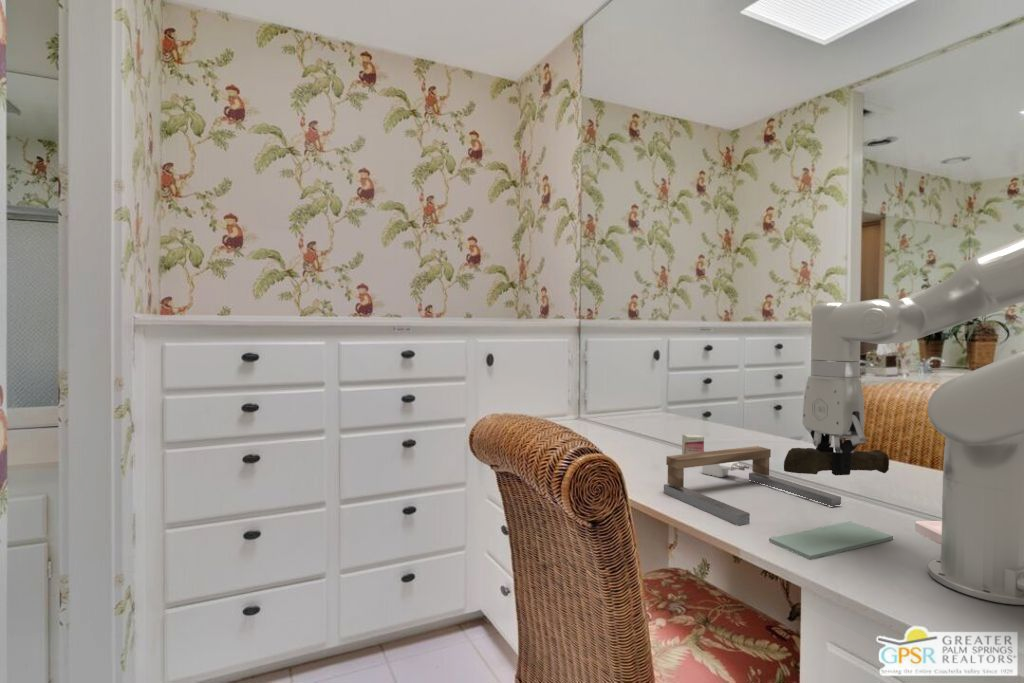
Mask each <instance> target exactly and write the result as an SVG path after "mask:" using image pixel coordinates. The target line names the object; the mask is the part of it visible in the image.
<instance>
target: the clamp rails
mask: <svg viewBox="0 0 1024 683" xmlns="http://www.w3.org/2000/svg"><path fill="white" fill-rule="evenodd" d="M749 480H751V481H755V482H758V483H761V484H765V485H768V486H771V487H775V488H778V489H782V490H785V491H788V492H791V493H794V494H797V495H800V496H803V497H806V498H808V499H812V500H815V501H818V502H821V503H824V504H827V505H830V506H835V505H840V504H841V505H842V496H841V495H840V496H839V495H837V494H833V493H829V492H827V491H822V490H820V489H816V488H813V487H810V486H807V485H803V484H800V483H797V482H793V481H789V480H786V479H783V478H780V477H776V476H773V475H770V474H769V475H766V476H765V475H762V474H759V473H755V472H749V473H748V481H749ZM751 481H750V482H751ZM761 484H760V485H761ZM663 494H665V495H667V496H669V497H671V498H674V499H676V500H678V501H681V502H683V503H686V504H688V505H690V506H693V507H695V508H697V509H700V510H702V511H704V512H706V513H708V514H710V515H713V516H716V517H718V518H720V519H723V520H725V521H727V522H730V523H731V524H734V525H736V526H742V525H749V524H750V518H751V516H750V515H751V514H750V513H749V512H747V511H745V510H742V509H740V508H737V507H735V506H732V505H730V504H727V503H725V502H723V501H720V500H717V499H715V498H712V497H710V496H708V495H705V494H702V493H700V492H698V491H694V490H692V489H691V488H687V487H685V486H684V487H683V488H678V487H676V486H673V485H671V484H668V483H665V484H663Z"/></svg>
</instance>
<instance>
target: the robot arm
mask: <svg viewBox="0 0 1024 683" xmlns="http://www.w3.org/2000/svg"><path fill="white" fill-rule="evenodd" d="M1022 302H1024V236H1021V237H1019V238H1017V239H1014V240H1012V241H1009V242H1007V243H1005V244H1002V245H1000V246H998V247H997V246H996V247H995V248H993V249H992V248H991V249H990V250H988V251H985V252H982V253H981V254H978V255H975V256H973V257H972V258H970V259H968V260H967V261H966V262H964V263H963V264H962V265H961V267H960V268H958V270H957V271H956V272H955V273H954V274H952V275H951V276H949V277H948V278H946V279H945V280H943V281H940V282H939V283H937V284H935V285H932V286H930V287H928V288H926V289H923V290H920V291H918V292H916V293H913V294H911V295H907V296H906V297H903V298H900V299H890V298H875V299H869V300H866V299H865V300H861V301H854V302H853V301H852V302H851V301H826V302H819V303H816V304H815V305H814V306H813V307H812V311H811V312H812V313H811V333H810V334H811V336H810V337H811V340H810V341H811V348H810V376H808V377H807V381H806V384H805V385H806V386H805V390H804V394H803V395H804V396H803V406H802V425H803V427H804V429H806V431H808V433H809V434H810V436H811V438H812V439H813V442H812V443H813V446H814V447H815V449H817V450H819V452H832V470H831V474H832V475H833V476H850V475H851V470H850V465H851V453H853V452H854V451H855V449H856V448H857V447H858V446H860V445H863V444H864V443H866V442H867V439H866V435H865V433H864V431H865V418H866V417H865V415H866V414H865V401H864V400H865V398H864V391H863V385H862V381H861V380H860V372H861V371H860V368H861V367H860V366H861V364H860V363H861V342H862V343H869V344H876V345H887V344H903V343H904V344H905V343H908V342H913V341H916V340H918V339H921V338H924V337H927V336H929V335H933V334H935V333H940V332H942V331H944V330H947V329H950V328H951V329H952V328H953V327H956V326H959V325H961V324H964V323H966V322H969V321H972V320H974V319H977V318H980V317H983V316H987V315H990V314H994V313H996V312H998V311H999V310H1003V309H1006V308H1009V307H1011V306H1014V305H1017V304H1020V303H1022ZM927 416H928V419H929V421H930V423H931V425H932V427H933V428H934V429H935V430H936V431H937V432H938V433H939V434H940V435H942V436H943V437H945V441H944V451H943V463H942V464H943V469H942V470H943V472H942V494H941V495H942V496H941V498H942V499H941V500H942V501H941V502H942V503H941V521H942V537H941V544H940V545H941V546H940V548H941V550H940V559H934V560H930V562H928V565H927V572H928V574H929V576H930V577H931V578H933V579H934V580H935V581H937V583H940V584H941V585H943V586H945V587H947V588H949V589H952V590H953V591H955V592H956V591H957V592H959V593H962V594H964V595H967V596H971V597H973V598H977V599H980V600H985V601H989V602H994V603H998V604H1007V605H1015V606H1016V605H1017V606H1024V349H1022V350H1020V351H1018V352H1015V353H1013V354H1010V355H1008V356H1005V357H1004V358H1001V359H998V360H995V361H993V362H991V363H988V364H986V365H984V366H982V367H979V368H977V369H974V370H971V371H969V372H967V373H964V374H962V375H959V376H957V377H955V378H952V379H950V380H947V381H946V382H944V383H942V384H940V385H939V386H938V387H937V388H936V389H935V390H934V391H933V393H932V394H931V396H930V398H929V399H928V403H927ZM843 439H845V440H844V441H843ZM832 440H834V447H833V446H832Z"/></svg>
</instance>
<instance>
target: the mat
mask: <svg viewBox="0 0 1024 683" xmlns="http://www.w3.org/2000/svg"><path fill="white" fill-rule="evenodd" d="M891 540H894V535H891V534H889V533H886V532H883V531H879V530H876V529H874V528H870V527H868V526H864V525H862V524H858V523H856V522H853V521H845V522H841V523H835V524H832V525H831V524H830V525H826V526H821V527H817V528H812V529H811V528H810V529H807V530H802V531H798V532H792V533H787V534H782V535H778V536H773V537H769V538H768V541H770V543H771V542H772V544H774V545H776V546H778V547H781V548H783V549H785V548H786V550H787V549H788V551H789V552H792V551H793V552H792V553H794V552H795V553H794V554H796V553H798V554H797V555H799V554H800V555H799V556H801V555H802V556H801V557H803V556H805V557H804V558H806V557H807V558H806V559H808V558H809V559H808V560H813V559H812V558H814V559H816V557H818V558H821V557H820V556H822V557H826V556H830V555H834V554H838V553H842V552H846V551H851V550H855V549H858V548H863V547H866V546H867V547H868V546H871V545H876V544H879V543H884V542H887V541H891ZM825 555H826V556H825Z"/></svg>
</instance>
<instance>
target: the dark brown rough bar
mask: <svg viewBox="0 0 1024 683" xmlns="http://www.w3.org/2000/svg"><path fill="white" fill-rule="evenodd" d="M889 466H890V458H889V455H888V454H887V453H886V452H884V451H882V450H881V449H873V450H870V451H861V450H854V452H853V453H851V465H850V471H869V472H872V471H877V472H880V473H883V474H886V473H887V472H888V471H889V470H890V468H889ZM783 471H784V472H786V473H794V474H805V475H806V474H807V475H818V474H819V472H825V471H828V472H829V471H832V452H819V450H817V449H816V448H813V447H807V448H803V447H792V448H790V449H789V450H788V452H787V454H786V456H785V458H784V462H783Z"/></svg>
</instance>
